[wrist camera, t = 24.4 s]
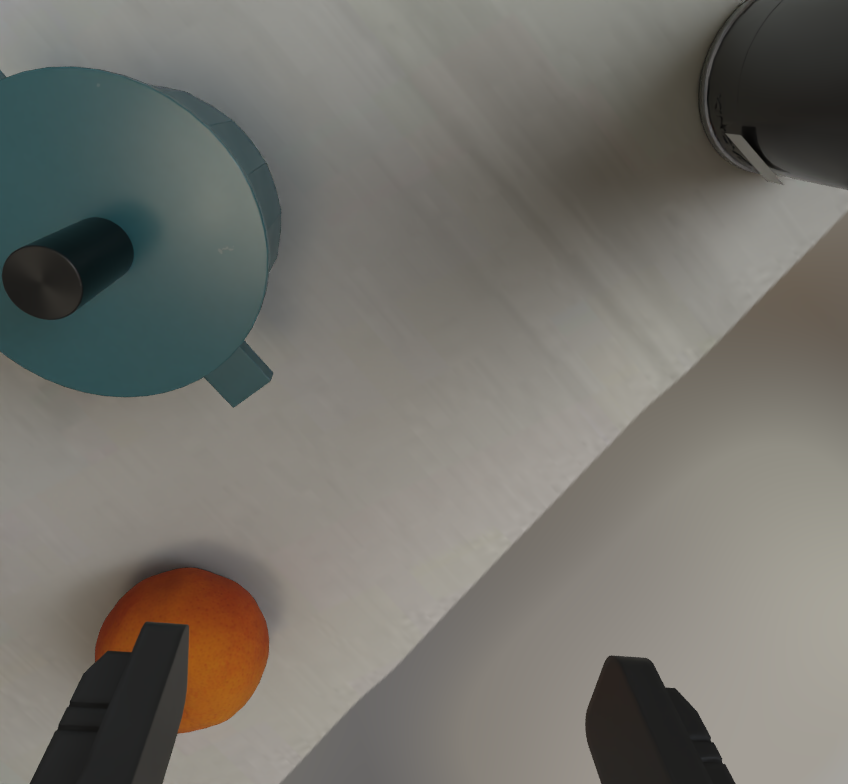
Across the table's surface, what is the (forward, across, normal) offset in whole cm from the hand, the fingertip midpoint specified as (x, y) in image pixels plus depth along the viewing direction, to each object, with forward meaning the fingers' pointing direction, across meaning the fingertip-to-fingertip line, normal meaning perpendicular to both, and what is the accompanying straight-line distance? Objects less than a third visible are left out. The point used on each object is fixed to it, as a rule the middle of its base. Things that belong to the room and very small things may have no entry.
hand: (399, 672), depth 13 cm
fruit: (+28, +9, +25) cm, 39 cm away
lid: (+20, +12, -2) cm, 23 cm away
